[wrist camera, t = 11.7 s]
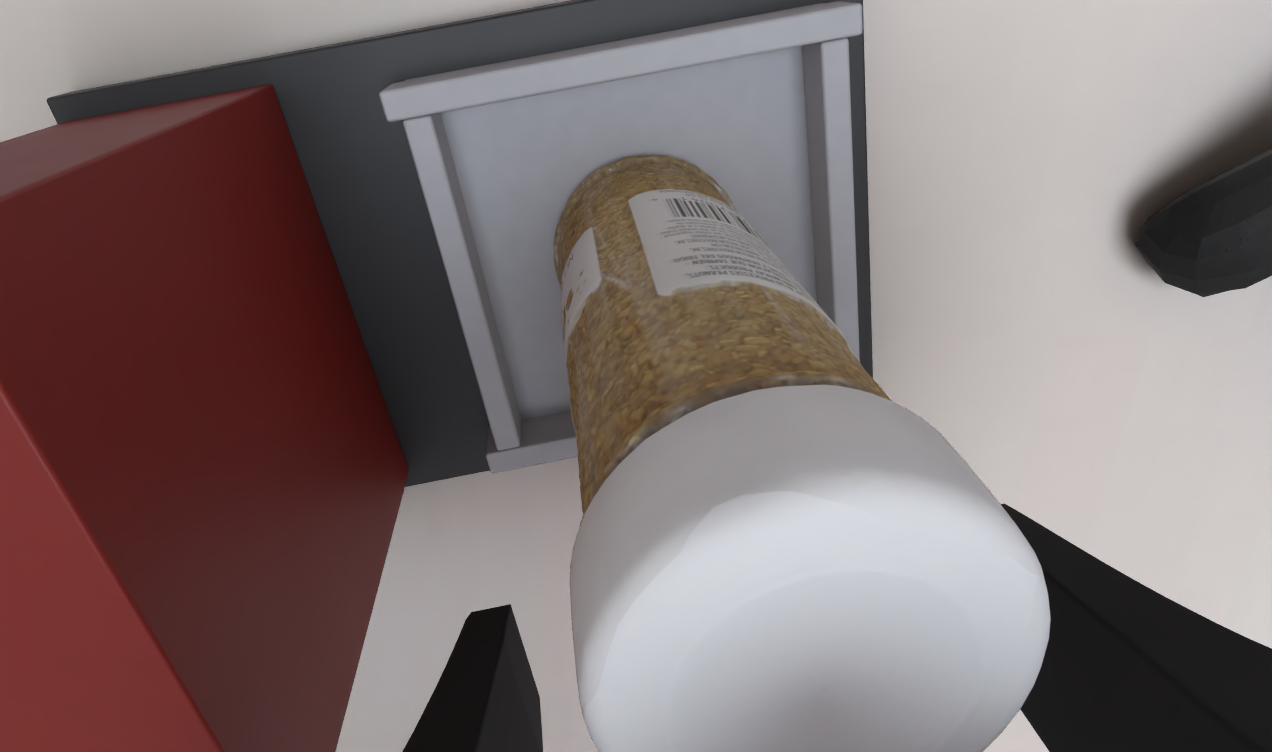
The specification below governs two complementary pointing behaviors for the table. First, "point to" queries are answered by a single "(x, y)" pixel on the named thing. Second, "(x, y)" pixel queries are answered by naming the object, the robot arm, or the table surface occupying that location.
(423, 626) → the table surface
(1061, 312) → the table surface
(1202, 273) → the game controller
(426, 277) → the coffee maker
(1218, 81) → the table surface
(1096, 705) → the robot arm
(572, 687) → the table surface
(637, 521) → the sprinkles bottle
